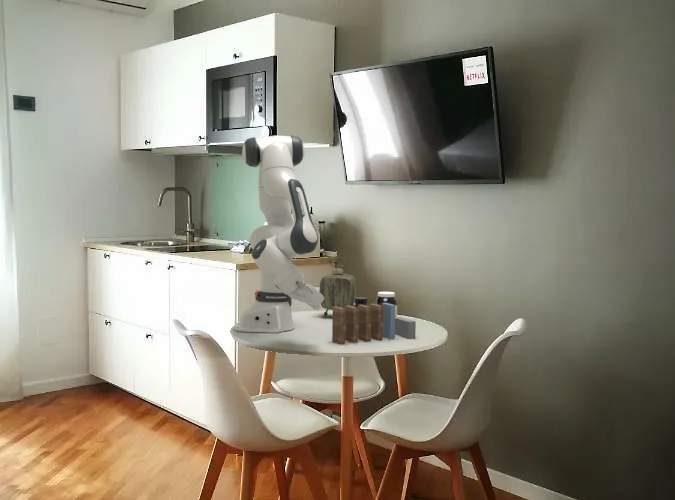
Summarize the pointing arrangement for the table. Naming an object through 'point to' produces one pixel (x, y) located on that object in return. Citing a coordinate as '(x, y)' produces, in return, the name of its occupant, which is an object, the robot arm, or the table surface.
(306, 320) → the table surface
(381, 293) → the spread jar
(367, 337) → the domino
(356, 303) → the supplement bottle
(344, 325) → the domino
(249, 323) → the robot arm
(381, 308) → the domino
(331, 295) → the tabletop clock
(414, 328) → the end stop
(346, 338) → the domino
